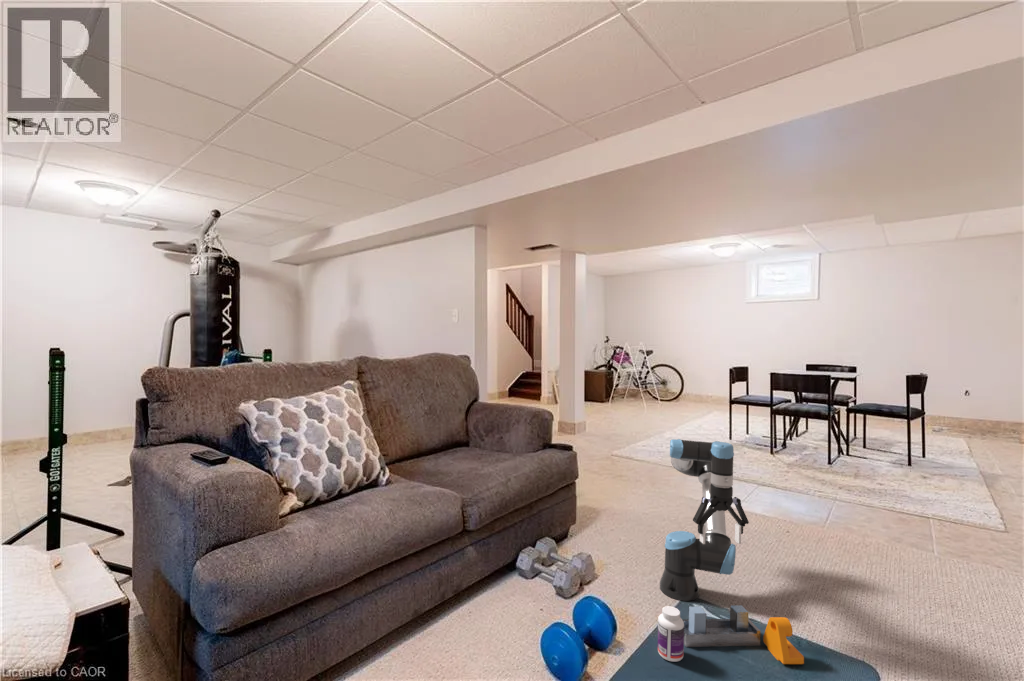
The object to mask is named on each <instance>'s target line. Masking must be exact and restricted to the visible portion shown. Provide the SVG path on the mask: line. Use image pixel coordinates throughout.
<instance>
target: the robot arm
mask: <svg viewBox="0 0 1024 681" xmlns="http://www.w3.org/2000/svg"><path fill="white" fill-rule="evenodd" d="M734 456H735V452H734V445H733V444H732V443H729V442H725V441H720V440H719V441H718V440H717V441H712V442H710V441H709V442H707V441H698V440H697V441H696V440H687V439H679V438H678V439H675V438H673V439H671V440H670V442H669V457H670V461H671V465H672V467H673V468H674V469H675V470H676V471H677V472H680V473H681V474H684V475H686V476H690V477H696V478H698V481H699V483H700V484H701V485H702V487H701V488H702V497H701V502H700V505H699V506H698V508H697V510H696V512H695V515H694V516H693V518H692V521H693V523H695V524H696V525H697V533H698V534H699V538H697V537H696V535H695V534H694V533H693V532H689V531H684V530H676V531H672V532H669V533H668V534H667V535H666V536H665V543H664V549H665V550H664V551H665V552H664V555H665V556H664V570H663V573H662V576H661V578H660V579H659V580H660V581H659V589H660V591H661V593H663V594H664V595H665V596H667V597H669V598H672V599H674V600H678V601H685V602H686V601H687V602H689V601H691V602H692V601H694V600H696V599H698V598H699V595H700V594H699V593H700V589H699V586H698V582H697V578H696V574H695V572H696V571H695V570H698V571H703V572H704V571H705V572H708V573H712V574H713V573H715V574H719V575H728V576H730V575H732V574H733V573H734V570H735V563H736V552H737V551H736V550H737V548H736V546H737V545H735V544H734V543H732V540H731V537H729V535H727V526H726V514H725V513H726V512H727V511H728V513H729V514H730V515H731V516H732V517H733V519H734V520H735V521H736V523H735V524H734V541H735V542H736V543H737V544H739V545H741V544H742V535H743V534H744V527H746V525H748V524H749V523H750V522H749V520H748V517H747V515H746V512H745V511H744V508H743V506H742V501H741V499H740V498H738V496H737V497H736V496H735V497H733V496H734V495H733V493H734V488H733V485H734V482H733V481H734ZM732 504H734V505H735V508H736V510H737V512H738V514H737V512H736V511H735V510H734V508H733V507H732Z"/></svg>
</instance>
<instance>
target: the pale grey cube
mask: <svg viewBox="0 0 1024 681" xmlns="http://www.w3.org/2000/svg"><path fill="white" fill-rule="evenodd" d="M688 610H689V611H688V619H689V631H690V632H691V633H706V619H707V616H708V615H707V613H706V611H705V610H704V609H703V608H702V607H701V606H700V605H699V606H689V607H688Z"/></svg>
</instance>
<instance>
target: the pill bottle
mask: <svg viewBox="0 0 1024 681" xmlns="http://www.w3.org/2000/svg"><path fill="white" fill-rule="evenodd" d="M682 619H683V618H682V617H681V611H680V610H679V609H678V608H677V607H675V606H671V605H666V606H663V607H662V609H661V613H660V614H659V615H658V617H657V653H658V654H659V655H660V657H661V658H662V659H664V660H666V661H669V662H680V661H681V660H683V658H684V655H685V654H684V650H685V648H684V647H685V645H684V622H683V620H682Z"/></svg>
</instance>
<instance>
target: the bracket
mask: <svg viewBox="0 0 1024 681" xmlns="http://www.w3.org/2000/svg"><path fill="white" fill-rule="evenodd" d="M793 633H794V632H793V626H792V623H791V622H790V620H789V618H788V617H784V616H782V617H781V616H776V617H775V616H774V617H773V616H772V617H771V616H770V617H769V618H768V620H767V624H766V627H765V629H764V633H763V636H762V643H764V645H765V646H766V647H767V650H768V651H769V653H771V655H772V656H773V657H774V658H775V660H777V661H778V662H781V663H782V665H804V664H805V657H804V655H803V654H802V653H801V652H800V651H799V650H798V649H797V648H796V647H795V646H794V645H793V644H792V643H791V641H789V640H788V639H787V637H788V638H789V637H790V638H791V637H792V636H793Z"/></svg>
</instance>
